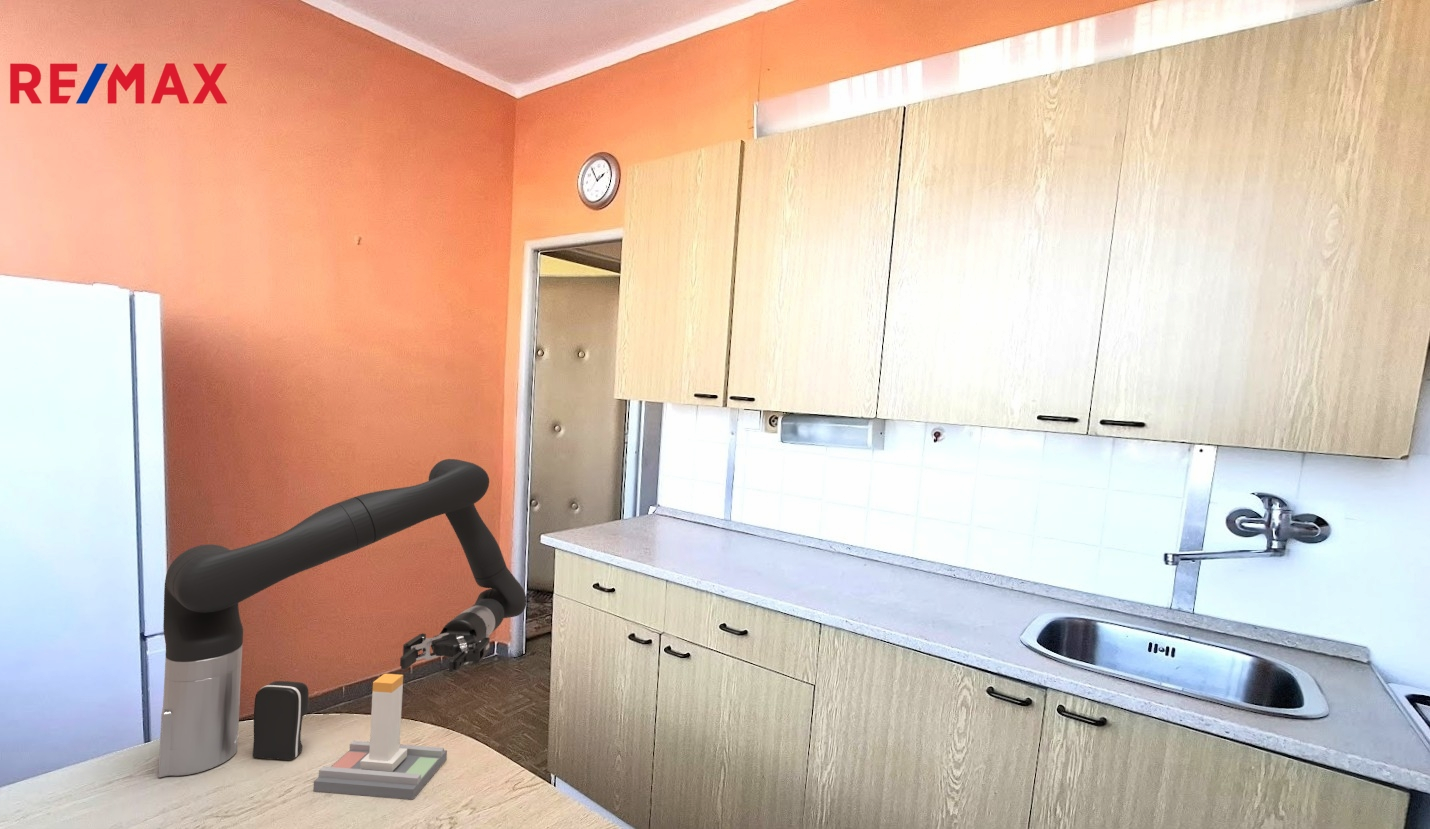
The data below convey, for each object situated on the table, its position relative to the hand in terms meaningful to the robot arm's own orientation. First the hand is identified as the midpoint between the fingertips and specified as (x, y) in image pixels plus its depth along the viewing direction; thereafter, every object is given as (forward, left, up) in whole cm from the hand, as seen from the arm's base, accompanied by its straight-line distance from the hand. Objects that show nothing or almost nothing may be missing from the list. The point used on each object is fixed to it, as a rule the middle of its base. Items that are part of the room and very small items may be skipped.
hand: (427, 665), depth 103 cm
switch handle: (-8, -8, -10) cm, 15 cm away
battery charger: (-20, +7, -12) cm, 24 cm away
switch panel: (-8, -8, -12) cm, 17 cm away
